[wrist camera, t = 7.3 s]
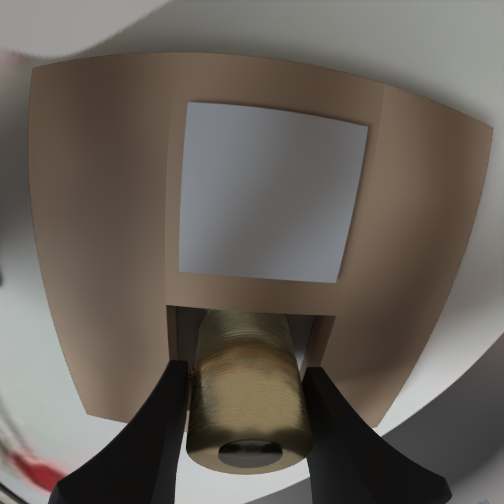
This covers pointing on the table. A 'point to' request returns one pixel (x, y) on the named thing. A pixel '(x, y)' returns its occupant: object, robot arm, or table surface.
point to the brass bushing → (247, 395)
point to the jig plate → (244, 213)
